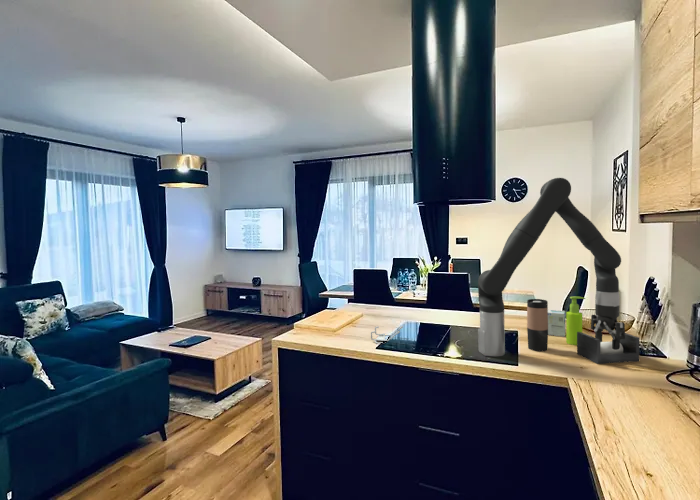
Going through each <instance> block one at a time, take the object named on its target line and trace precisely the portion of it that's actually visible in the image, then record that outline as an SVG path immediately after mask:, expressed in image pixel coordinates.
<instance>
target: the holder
mask: <svg viewBox="0 0 700 500" xmlns="http://www.w3.org/2000/svg"><path fill="white" fill-rule="evenodd" d="M613 331H615V329H614V330H613ZM615 336H616V334H615ZM620 336H621V333H620ZM620 343H621V345H622V346H623V353H611V354H600V340H599V339H597V338H595V337H594V336H592V335H589V334H587V333H584V332H583V331H582V332H577V345H576V355H578V356H580V357H582V358H584V359H586V360H588V361H590V362H592V363H595V364H597V365H601V364H603V365H605V364H621V363H634V362H635V363H637V362H638V363H639V362H640V337H639V336H636V335H633V334H629V333H628V332H627V333H626V332H625V339H620Z"/></svg>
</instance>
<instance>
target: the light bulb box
mask: <svg viewBox="0 0 700 500" xmlns="http://www.w3.org/2000/svg"><path fill="white" fill-rule="evenodd" d="M553 335H554V336H555V337H562V338H564V337H565V338H566V310H556V309H548V336H553Z"/></svg>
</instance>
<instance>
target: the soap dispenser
mask: <svg viewBox="0 0 700 500" xmlns="http://www.w3.org/2000/svg"><path fill="white" fill-rule="evenodd" d="M569 299H571V303H570V304H569V311H565V322H566V333H565V341H566V342H565V343H566V344H568V345H571V346H577V332H582V333H583V312H580V304H578V301H577V299H582V300H586V297H583V296H579V295H577V296H573V295H572V296H570V297H569Z"/></svg>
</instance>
